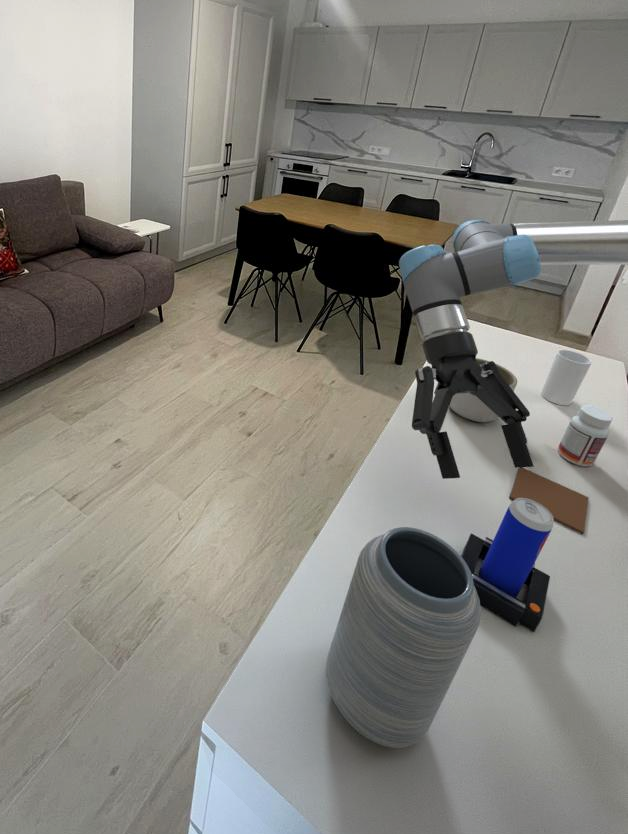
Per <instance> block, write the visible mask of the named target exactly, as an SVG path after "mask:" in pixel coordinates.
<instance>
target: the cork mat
mask: <svg viewBox="0 0 628 834" xmlns="http://www.w3.org/2000/svg"><path fill="white" fill-rule="evenodd" d="M517 498H527V499H530V500H533V501H535V502H537V503H539V504H541V505H542V506H544V507H545V508H546V509H548V510H549V512H550V513H551V514H552V516H553V521H555V522H557V523H558V524H561V525H563V526H565V527H567V528H569V529H570V530H571V529H572V530H573V531H575V532H578V533H579V534H581V535H583V534H584V533H585V526H586V519H587V511H588V505H589V498H590V497H589V496H587V495H585V494H582V493H580V492H578V491H576V490H573V489H571V488H570V487H567V486H564V485H563V484H560V483H558V482H556V481H553V480H551V479H549V478H547V477H544V476H543V475H540V474H537V473H536V472H534V471H531V470H529V469H526V467H523V468H518V470H517V474H516V477H515V479H514V482H513V485H512V489H511V491H510V494H509V497H508V499H510V500H512V501H514V500H515V499H517Z"/></svg>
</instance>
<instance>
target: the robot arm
mask: <svg viewBox="0 0 628 834" xmlns="http://www.w3.org/2000/svg"><path fill="white" fill-rule="evenodd" d="M451 240H452V247H453V251H454V252H450V253H447V251H445V250H444V248H443V247H442V246H441V245H439V244H429V245H420V246H418V247H417V246H416V247H414V248H412V249H410V250H407V251H406V252H404V253H403V254H402V256H401V257H400V259H399V260H398V267H399V270H400V274H401V279H402V284H403V287H404V290H405V294H406V296H407V299H408V302H409V305H410V309H411V312H412V315H413V319H414V322H415V326H416V329H417V332H418V335H419V336H418V337H419V338H420V339H421V340H422V341H423V342H422V344H421V347H422V350H423V353H424V357H425V360H426V362H427V363H428V364H429V365H431V366H429V365H426V366H422V367H421V368H417V369H416V370H415V371H414V373H415V374H414V375H415V379H416V389H415V396H414V404H413V411H412V420H411V428H412V429H413V430H414V431H419V432H420V433H421V434H422V435H426V437H427V441H428V445H429V448H430V452H431V454H432V455H433V456H435V457H436V460H437V463H438V467H439V471H440V474H441V478H442V480H445V479H447V480H448V479H460V478H461V475H460V471H459V468H458V465H457V461H456V458H455V455H454V451H453V448H452V445H451V441H450V437H449V434H448V431H445V430H444V431H441V430H442V427H443V425H444V422H445V419H446V416H447V413H448V411H449V408H450V406H449V405H450V403H451V400H452V397H453V396H454V395H455V394H459V393H462V394H465V393H470V394H472V395H475V396H476V397H478V398H479V399H480V400H481V401H482V402H483V403H484V404H485V405H486V406H487V407H488V408H489V409H491V410H492V411H493V412H494V413H495V414H496V415H497V416H498V417H499V418H498V419H500V420H501V421H503V423H504V424H502V425H501V424H500V427H501V430H502V434H503V437H504V440H505V442H506V446H507V448H508V452H509V454H510V457H511V460H512V463H513V466H514V468H515V469H519V468H534V467H535V465H534V462H533V460H532V456H531V453H530V450H529V448H528V439H527V436H526V433H525V430H524V428H523V425H522V423H523V422H526V421H527V419H528V417H530V416H531V413H530V411H529V409H528V408H527V407H526V406H525V404H524V403H523V402H522V400H521V399H520V397H519V396H518V395H517V394H516V392H515V390H514V391H513V390H512V389H511V388H510V386H509V385H508V384H507V382H506V381H505V380H504V379H503V377H502V376H501V375H500V373H499V371H498V368H497V366H496V364H497V363H496V362H494V361H493V360H490V362H487V363H483V364H480V365H479V364H478V362H477V361H476V358H477V355H478V353H479V350H478V347H477V344H476V341H475V339H474V336H473V333H471V332H470V331H469V330H470V329H471V326H470V324H469V321H468V317H467V315H466V312H465V309H464V306H463V303H462V301H461V298H463V297H466V296H471V295H474V294H479V293H483V292H487V291H488V292H489V291H493V290H497V289H500V288H505V287H510V286H517V285H519V284H522V283H525V282H529V281H531V280H535V279H537V278H538V277H539V276H540V275H541V273H542V266H552V265H553V266H560V265H561V266H563V265H564V266H568V265H571V266H573V265H577V266H579V265H580V266H581V265H583V266H585V265H586V266H588V265H589V266H592V265H593V266H594V265H596V266H597V265H599V266H600V265H601V266H602V265H605V266H609V265H610V266H613V265H614V266H615V265H616V266H617V265H618V266H619V265H621V266H623V265H624V266H625V265H628V219H626V220H625V219H624V220H588V221H587V220H586V221H557V222H556V221H555V222H523V223H520V222H519V223H491V222H488V221H485V220H481V219H472V220H468V221H465V222H463V223H462V224H460V225H459V226H458V227H457V228H456V229H455V231H454V232H453V236H452V239H451ZM435 382H437V384H436V387H435ZM478 385H479V386H478Z"/></svg>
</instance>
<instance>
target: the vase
mask: <svg viewBox="0 0 628 834" xmlns="http://www.w3.org/2000/svg"><path fill="white" fill-rule="evenodd" d="M481 616H482V609H481V605H480V600H479V597H478V594H477V591H476V588H475V586H474V583H473V577H472V574H471V571H470V569H469V567H468V565H467V564H466V562H465V561H464V559H463V558H462V557H461V554H460V553H459V552H458V551H457V550H456V549H455V548H453V547H452V545H450V544H449V543H448V542H446V541H445V540H443V539H442V538H440V537H438V536H437V535H434V534H433V533H431V532H428V531H426V530H423V529H420V528H415V527H408V526H400V527H395V528H392V529H390V530H388V531H387V532H386V533H383V534H381V535H378V536H376V537H373V538H372V539H370V540H369V541H368V542H367V543H366V544H365V545H364V547H363V548H362V549H361V550H360V552H359V555H358V558H357V561H356V565H355V567H354V570H353V574H352V576H351V579H350V583H349V586H348V590H347V593H346V596H345V599H344V602H343V606H342V608H341V612H340V615H339V618H338V621H337V625H336V629H335V631H334V634H333V638H332V641H331V644H330V647H329V650H328V653H327V657H326V664H325V676H326V681H327V686H328V689H329V692H330V695H331V698H332V700H333V702H334V704H335V706H336V707H337V709H338V711H339V712H340V714H341V715H342V717H343V718H344V719H345V720H346V722H347V723H348V724H349V725H350V726H351V727H352V728H353V729H354V730H356V732H357V733H358V734H359V735H361V736H363V737H364V738H365V739H367V740H369V741H371V742H373V743H375V744H377V745H380V746H383V747H386V748H394V749H402V748H407V747H411V746H414V745H416V744H417V743H418V742H420V741H421V740H423V738H424V737H425V736H426V734H427V733H428V732H429V730H430V728H431V726H432V724H433V721H434V720H435V718H436V715H437V713H438V711H439V709H440V708H441V705H442V703H443V701H444V700H445V697H446V695H447V693H448V690H449V689H450V686H451V685H452V683H453V680H454V679H455V676H456V674H457V672H458V670H459V668H460V667H461V664H462V662H463V660H464V658H465V655H466V654H467V652H468V650H469V648H470V646H471V644H472V641H473V640H474V638H475V635H476V634H477V631H478V629H479V627H480V625H481Z"/></svg>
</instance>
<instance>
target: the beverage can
mask: <svg viewBox="0 0 628 834" xmlns="http://www.w3.org/2000/svg"><path fill="white" fill-rule="evenodd" d="M553 528H554V520H553V516H552V514H551V513H550V512H549V510H548V509H546V508H545V507H544V506H542V505H541V504H539V503H537V502H535V501H533V500H530V499H527V498H517V499H515V500H512V501H511V502H510V503H509V505H508V507H507V509H506V511H505V514H504V516H503V518H502V520H501V523H500V524H499V527H498V529H497V532H496V533H495V536H494V538H493V539H492V540H493V542H492V544H491V546H490V548H489V551H488V553H487V555H486V557H485V559H484V561H482V564H481V566H480V567H479V571H478V575H479V576H481V577H483V578H484V579H486V580H488V581H489V582H491V583H493V584H495V585H496V586H498V587H500V588H501V589H503V590H505V591H506V592H508V593H510V594H512V595H513V596H515V597H517V598H518V596H519V594H520V592H521V590H522V588H523V586H524V585H525V584H524V582H525V581H526V579H527V577H528V575H529V573H530V571H531V569H532V567H533V565H534V563H535V564H536V561H537V559H538V558H539V556H540V553H541V552H542V550H543V548H544V545H545V544H546V542H547V540H548V538H549V537H550V534H551V532H552V530H553Z"/></svg>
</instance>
